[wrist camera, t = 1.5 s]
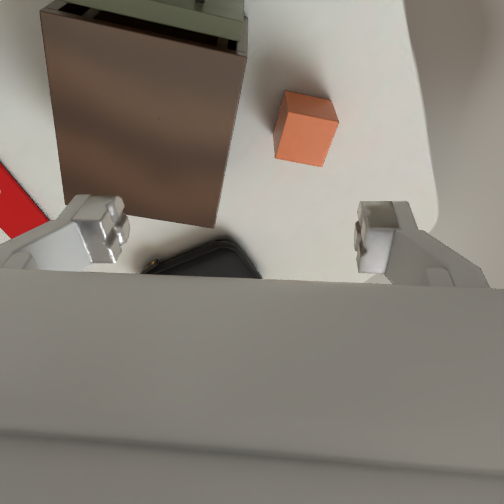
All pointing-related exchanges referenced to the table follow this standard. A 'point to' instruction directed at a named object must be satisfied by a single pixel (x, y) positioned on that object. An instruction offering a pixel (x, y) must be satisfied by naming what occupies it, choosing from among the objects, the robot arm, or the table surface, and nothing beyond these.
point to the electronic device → (17, 207)
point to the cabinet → (141, 114)
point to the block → (304, 129)
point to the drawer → (174, 17)
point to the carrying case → (208, 263)
